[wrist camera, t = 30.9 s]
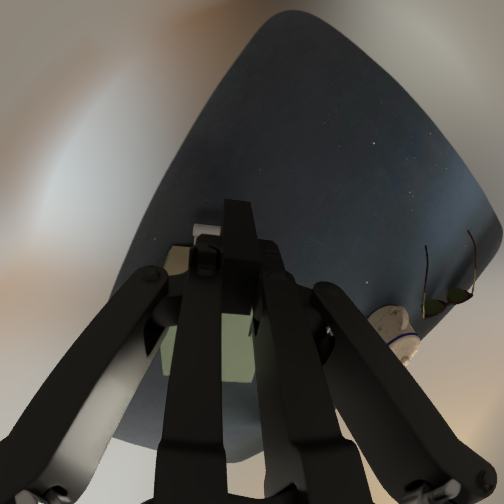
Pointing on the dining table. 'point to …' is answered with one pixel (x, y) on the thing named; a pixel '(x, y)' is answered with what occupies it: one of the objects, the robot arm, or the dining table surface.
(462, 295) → the sunglasses
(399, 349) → the teacup with lid
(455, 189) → the dining table surface
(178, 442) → the robot arm
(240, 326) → the green drawer box
